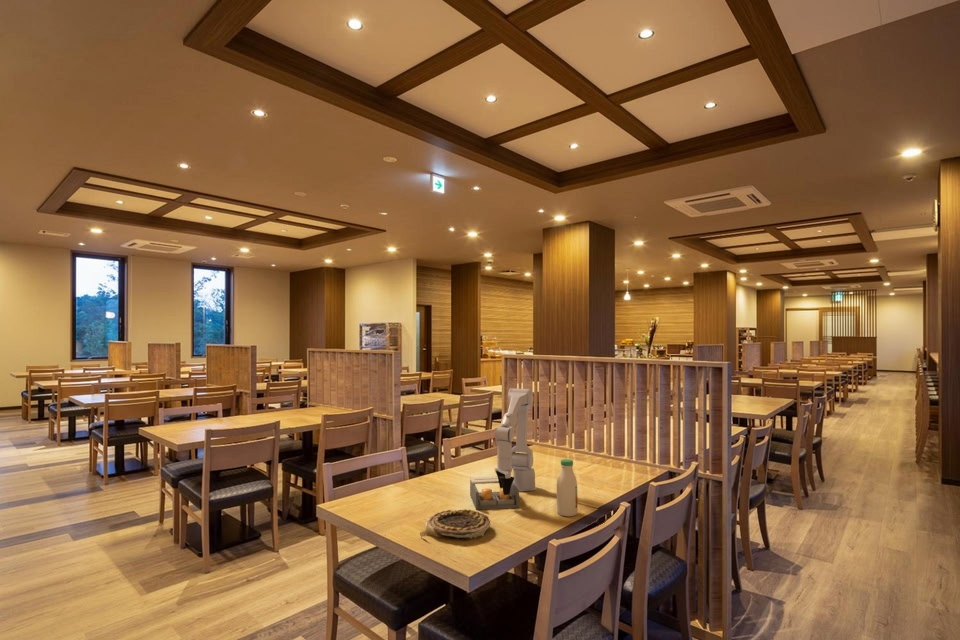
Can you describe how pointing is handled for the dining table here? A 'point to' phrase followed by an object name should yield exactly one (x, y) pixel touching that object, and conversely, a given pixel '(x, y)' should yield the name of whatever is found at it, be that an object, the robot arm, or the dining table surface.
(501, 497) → the orange rounded block
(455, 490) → the dining table surface
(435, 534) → the pie
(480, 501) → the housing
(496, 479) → the lid
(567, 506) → the milk bottle
